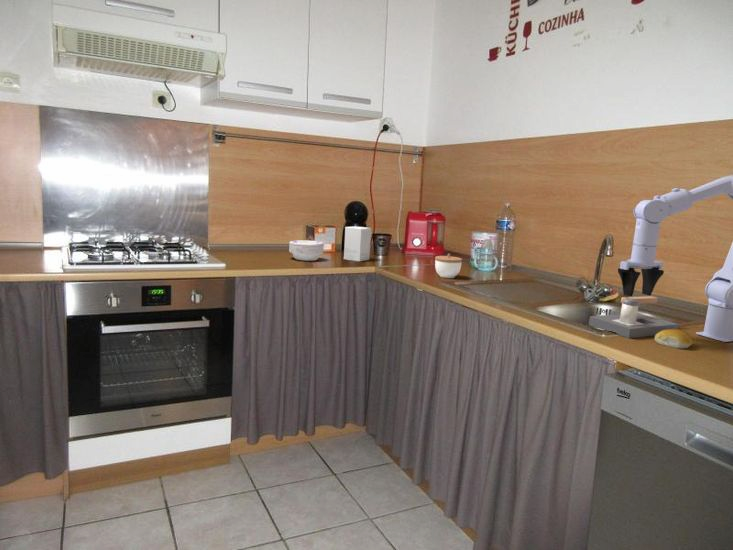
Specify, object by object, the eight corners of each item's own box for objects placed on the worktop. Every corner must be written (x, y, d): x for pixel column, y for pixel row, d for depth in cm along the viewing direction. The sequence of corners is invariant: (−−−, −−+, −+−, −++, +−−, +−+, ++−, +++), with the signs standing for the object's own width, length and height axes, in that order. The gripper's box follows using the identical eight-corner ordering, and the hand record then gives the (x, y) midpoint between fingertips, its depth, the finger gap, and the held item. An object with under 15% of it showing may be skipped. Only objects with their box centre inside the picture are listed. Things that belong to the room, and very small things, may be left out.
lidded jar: (429, 276, 216) (431, 253, 214) (439, 273, 225) (441, 251, 223) (455, 280, 211) (457, 256, 209) (463, 276, 220) (466, 254, 219)
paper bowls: (286, 256, 245) (286, 239, 243) (319, 257, 249) (319, 240, 248) (291, 261, 230) (292, 243, 229) (326, 262, 235) (327, 244, 234)
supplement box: (370, 260, 250) (372, 227, 248) (359, 261, 243) (361, 228, 240) (353, 257, 255) (355, 225, 252) (343, 259, 247) (344, 226, 245)
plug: (625, 319, 150) (628, 298, 149) (638, 323, 147) (642, 301, 145) (616, 320, 148) (619, 299, 147) (629, 324, 145) (633, 302, 143)
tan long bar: (626, 304, 153) (627, 299, 153) (619, 302, 156) (620, 297, 155) (657, 303, 158) (658, 298, 157) (649, 301, 160) (650, 296, 160)
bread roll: (694, 344, 139) (697, 329, 139) (686, 351, 133) (689, 335, 132) (659, 337, 145) (661, 322, 144) (650, 343, 138) (652, 328, 137)
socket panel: (635, 320, 161) (638, 301, 160) (677, 332, 150) (680, 311, 149) (588, 325, 152) (591, 304, 151) (628, 338, 141) (632, 315, 140)
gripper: (649, 243, 151) (641, 291, 153) (613, 243, 144) (606, 293, 146) (672, 247, 144) (664, 296, 147) (636, 246, 138) (628, 298, 140)
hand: (637, 295), depth 146 cm, fingers open, 7 cm apart
